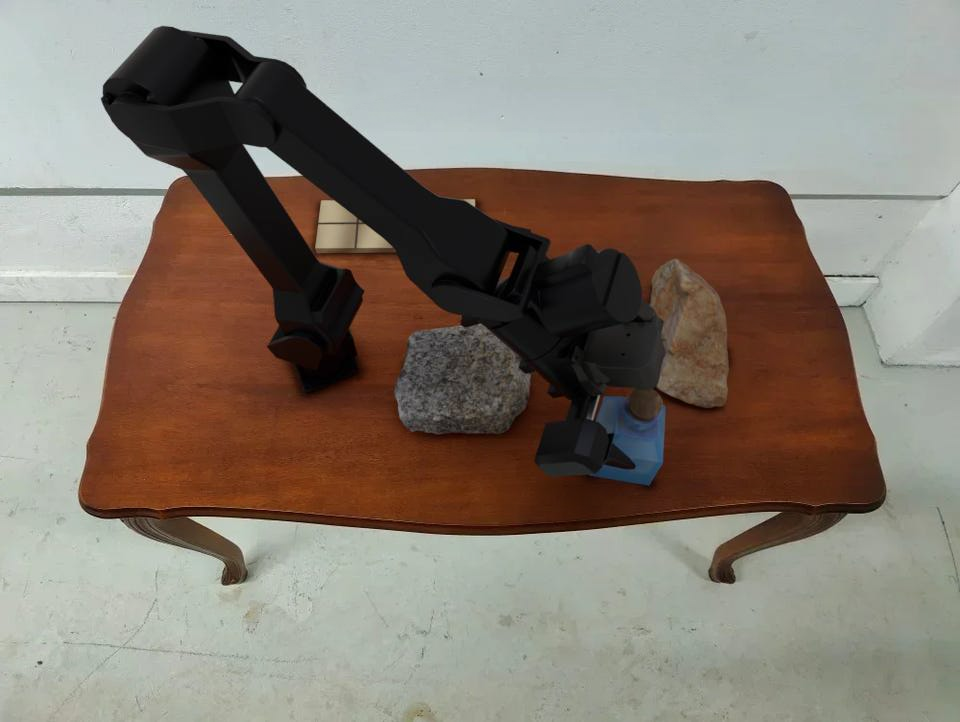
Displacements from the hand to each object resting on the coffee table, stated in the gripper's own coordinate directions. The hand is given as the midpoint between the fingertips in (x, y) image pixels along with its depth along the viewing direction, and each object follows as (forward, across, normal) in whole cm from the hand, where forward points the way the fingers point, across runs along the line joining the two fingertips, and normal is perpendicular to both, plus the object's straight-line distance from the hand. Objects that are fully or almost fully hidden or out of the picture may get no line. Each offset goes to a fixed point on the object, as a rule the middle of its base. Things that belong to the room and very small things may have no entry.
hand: (642, 426), depth 69 cm
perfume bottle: (+5, 0, +6) cm, 8 cm away
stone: (+8, +16, +3) cm, 18 cm away
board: (-20, +21, +30) cm, 41 cm away
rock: (-8, +2, +19) cm, 20 cm away
